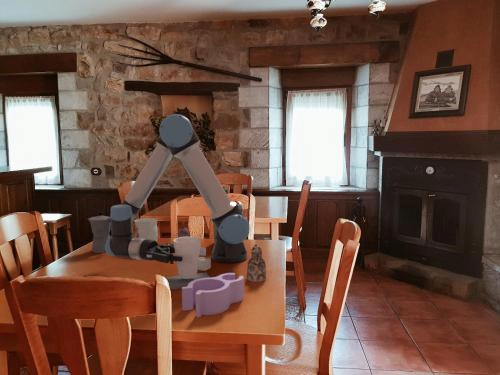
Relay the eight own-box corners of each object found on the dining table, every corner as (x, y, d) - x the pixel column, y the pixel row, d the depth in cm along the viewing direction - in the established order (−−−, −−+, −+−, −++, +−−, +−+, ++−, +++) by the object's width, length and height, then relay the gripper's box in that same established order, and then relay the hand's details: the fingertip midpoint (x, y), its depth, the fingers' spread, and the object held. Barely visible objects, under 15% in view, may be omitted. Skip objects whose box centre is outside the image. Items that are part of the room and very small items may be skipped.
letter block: (202, 266, 161) (202, 256, 160) (210, 268, 159) (210, 258, 158) (196, 269, 157) (196, 259, 157) (204, 271, 155) (204, 260, 155)
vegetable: (177, 242, 198) (177, 222, 197) (177, 239, 204) (177, 220, 203) (190, 242, 199) (189, 222, 198) (189, 239, 205) (189, 219, 204)
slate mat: (206, 275, 150) (206, 272, 150) (213, 284, 141) (213, 281, 141) (163, 280, 145) (163, 278, 144) (167, 290, 135) (167, 287, 135)
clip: (225, 290, 136) (225, 270, 135) (252, 300, 127) (252, 279, 126) (176, 307, 122) (176, 285, 121) (203, 320, 113) (202, 296, 112)
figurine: (245, 281, 143) (245, 248, 142) (247, 274, 150) (247, 243, 149) (265, 281, 143) (266, 248, 142) (266, 275, 150) (266, 243, 149)
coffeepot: (83, 252, 181) (81, 213, 179) (95, 247, 191) (93, 209, 189) (114, 254, 178) (112, 214, 176) (125, 248, 188) (123, 210, 185)
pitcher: (150, 241, 200) (150, 214, 199) (164, 249, 185) (163, 220, 184) (128, 244, 194) (127, 216, 193) (140, 253, 179) (139, 223, 178)
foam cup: (195, 281, 137) (195, 243, 135) (170, 279, 139) (169, 242, 137) (204, 272, 146) (204, 237, 145) (180, 270, 148) (179, 235, 146)
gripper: (161, 251, 159) (212, 257, 151) (125, 268, 138) (182, 275, 130) (160, 232, 158) (212, 237, 150) (124, 246, 137) (182, 253, 129)
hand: (198, 255), depth 140 cm, fingers closed on foam cup, 9 cm apart
